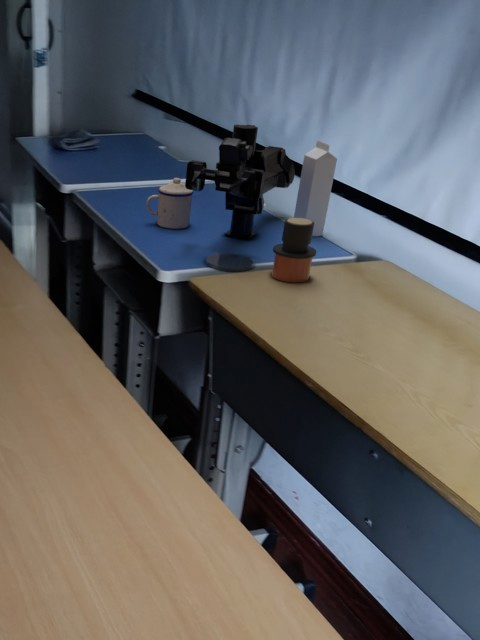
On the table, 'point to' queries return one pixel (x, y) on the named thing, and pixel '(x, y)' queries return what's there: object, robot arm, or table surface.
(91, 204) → the table surface
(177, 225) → the teacup with lid
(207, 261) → the saucer
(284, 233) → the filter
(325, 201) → the milk
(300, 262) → the cup
